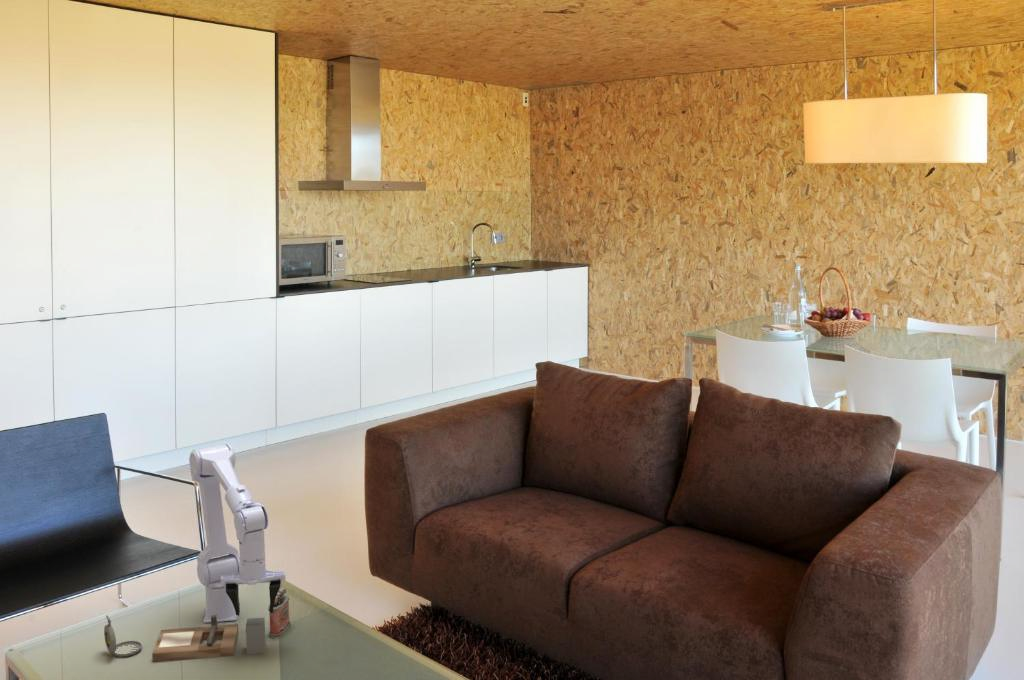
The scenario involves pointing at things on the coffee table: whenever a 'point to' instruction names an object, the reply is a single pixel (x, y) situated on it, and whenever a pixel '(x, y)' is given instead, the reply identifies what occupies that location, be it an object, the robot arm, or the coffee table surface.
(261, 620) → the gray rectangular block
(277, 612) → the lighter
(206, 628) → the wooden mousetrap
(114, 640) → the pocket watch
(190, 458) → the robot arm
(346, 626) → the coffee table surface
